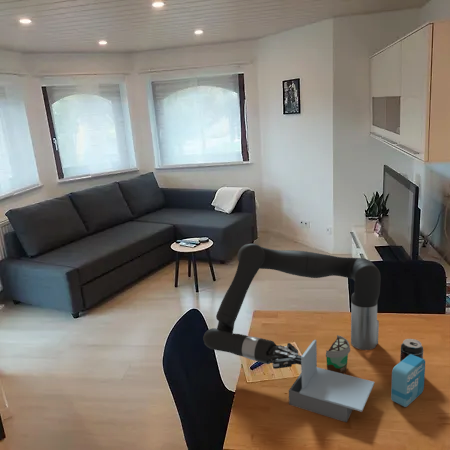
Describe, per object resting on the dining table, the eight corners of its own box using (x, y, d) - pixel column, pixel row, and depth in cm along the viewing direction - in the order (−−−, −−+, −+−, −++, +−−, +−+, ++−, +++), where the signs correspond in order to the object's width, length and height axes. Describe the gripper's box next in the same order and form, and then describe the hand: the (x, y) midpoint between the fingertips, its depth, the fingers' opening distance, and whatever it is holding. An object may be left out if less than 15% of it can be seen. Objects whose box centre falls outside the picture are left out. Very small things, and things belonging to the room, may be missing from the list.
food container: (343, 382, 146) (344, 355, 144) (325, 377, 150) (325, 351, 147) (354, 363, 156) (354, 338, 154) (337, 359, 160) (337, 334, 157)
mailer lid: (299, 393, 134) (298, 359, 131) (316, 368, 146) (315, 337, 143) (361, 411, 124) (362, 375, 121) (374, 383, 136) (375, 350, 133)
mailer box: (289, 404, 137) (288, 390, 136) (305, 380, 149) (305, 367, 148) (346, 422, 128) (346, 407, 127) (359, 395, 140) (359, 381, 138)
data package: (404, 409, 132) (406, 374, 129) (390, 402, 135) (391, 368, 132) (423, 391, 139) (425, 357, 136) (410, 385, 143) (411, 352, 140)
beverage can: (417, 383, 143) (419, 350, 140) (396, 376, 148) (397, 344, 145) (424, 373, 148) (426, 341, 145) (404, 366, 153) (405, 335, 149)
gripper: (248, 349, 141) (299, 362, 132) (266, 330, 152) (315, 341, 143) (249, 369, 143) (300, 384, 134) (267, 349, 154) (315, 361, 145)
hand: (308, 361), depth 138 cm, fingers closed
